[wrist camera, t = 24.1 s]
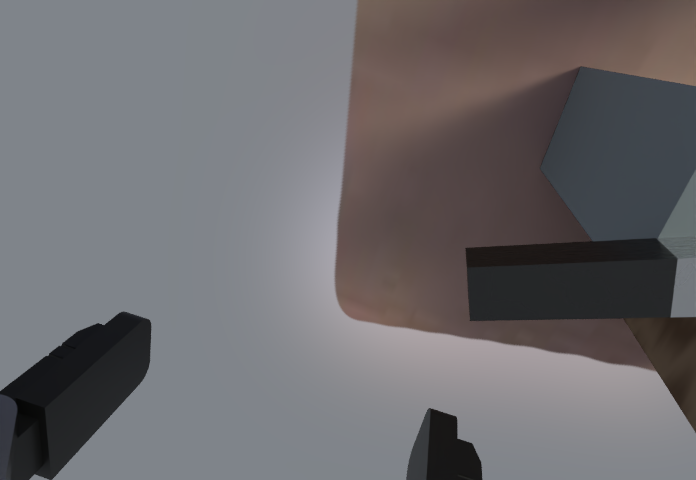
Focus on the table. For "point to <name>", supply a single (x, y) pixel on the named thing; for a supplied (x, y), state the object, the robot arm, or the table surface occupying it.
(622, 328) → the table surface
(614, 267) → the lever bar
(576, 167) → the grey rectangular box
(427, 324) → the table surface
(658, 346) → the upright wooden block
